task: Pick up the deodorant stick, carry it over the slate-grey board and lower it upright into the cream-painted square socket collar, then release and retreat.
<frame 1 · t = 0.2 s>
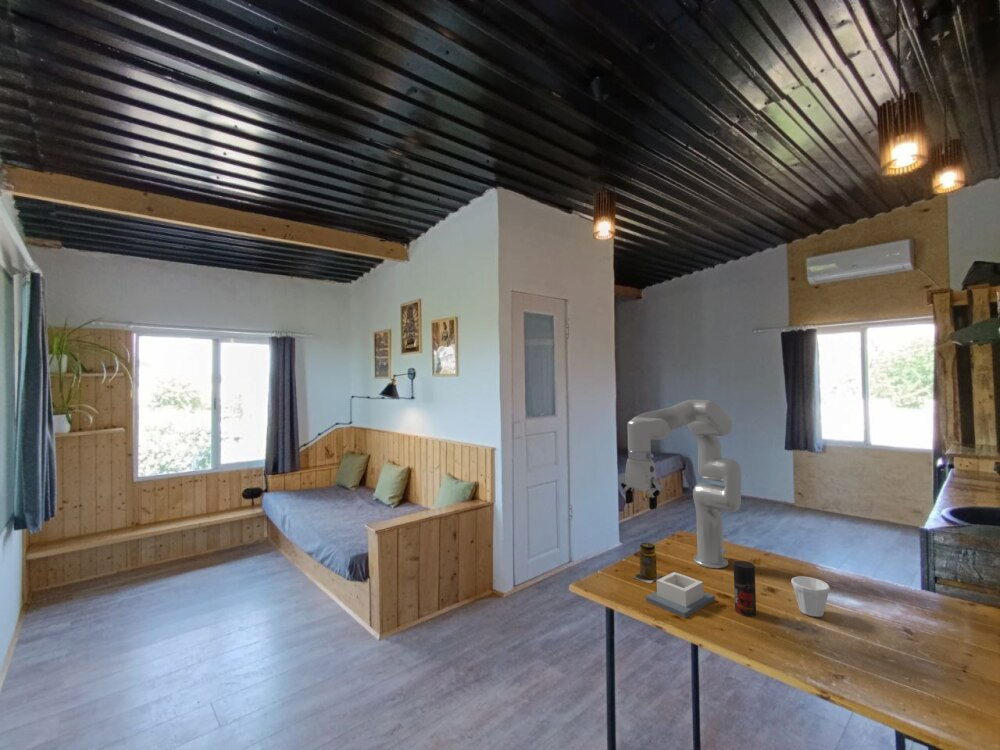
hand: (641, 505, 155), 31 cm above the table, fingers open, 9 cm apart
condiment: (646, 577, 169), on the table
cup: (811, 613, 141), on the table
socket: (680, 600, 151), on the table
deodorant: (745, 612, 143), on the table
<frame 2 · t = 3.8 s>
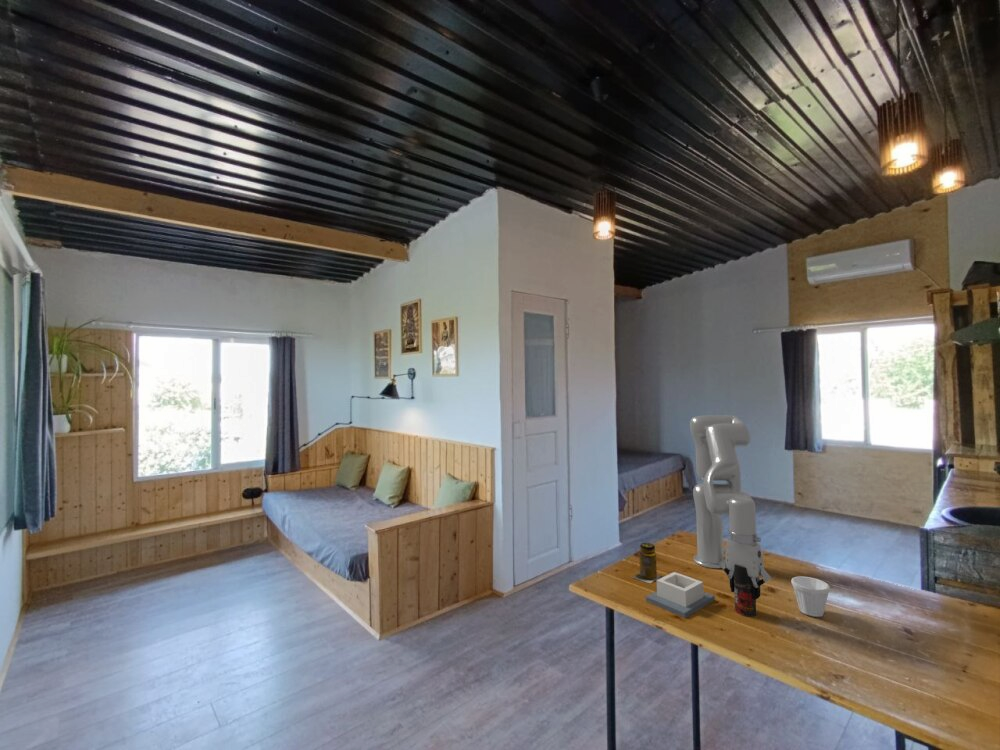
hand: (744, 594, 143), 6 cm above the table, fingers closed on deodorant, 5 cm apart
deodorant: (745, 612, 143), on the table, touching gripper
everything else where it was.
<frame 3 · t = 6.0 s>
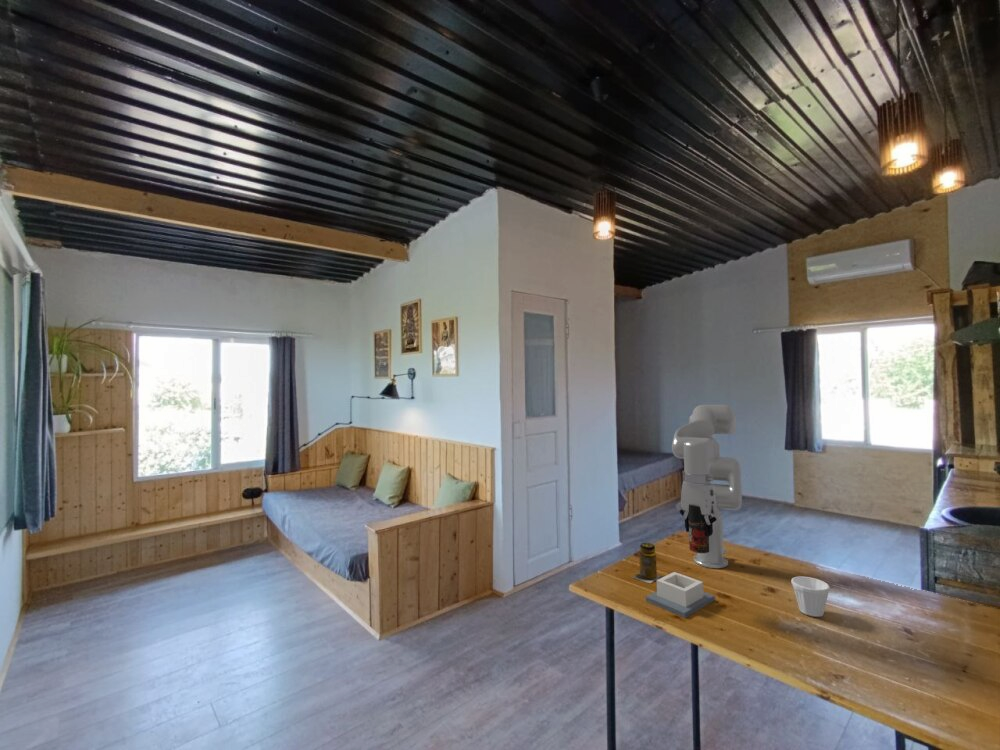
hand: (698, 532, 149), 23 cm above the table, fingers closed on deodorant, 5 cm apart
deodorant: (699, 550, 148), point 18 cm above the table, touching gripper
everything else where it was.
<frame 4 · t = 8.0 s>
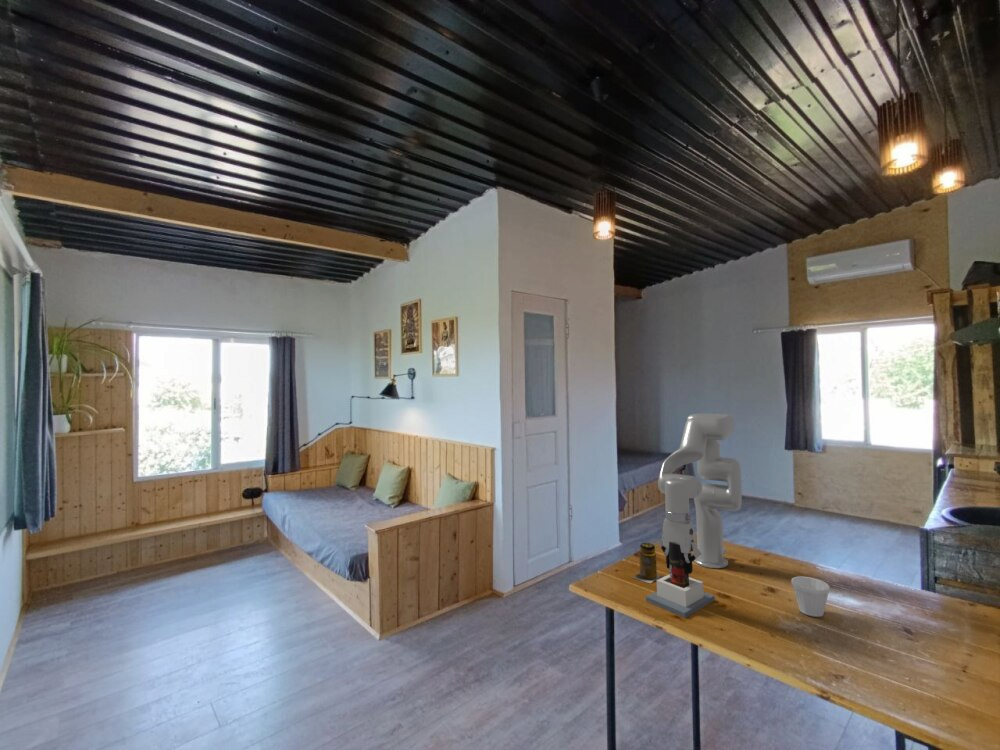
hand: (679, 570, 151), 10 cm above the table, fingers closed on deodorant, 5 cm apart
deodorant: (679, 587, 151), point 4 cm above the table, touching gripper
everything else where it was.
when the fingers open (9 cm above the table, at t = 8.6 s): deodorant drops 2 cm, resting on socket.
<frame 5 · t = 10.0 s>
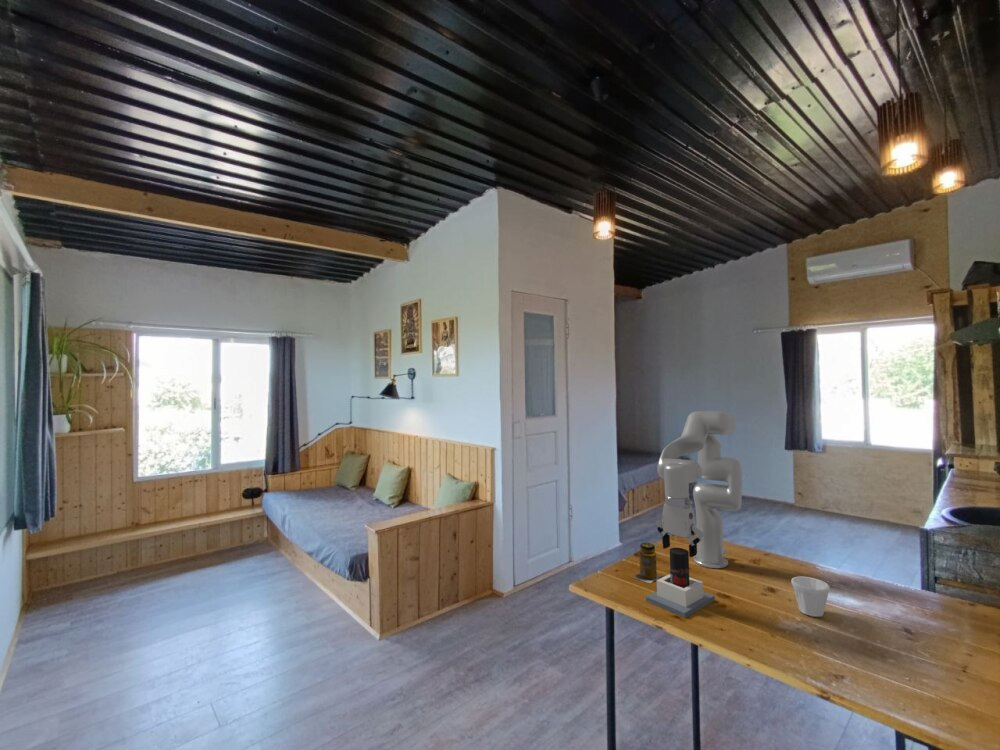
hand: (679, 551, 152), 16 cm above the table, fingers open, 9 cm apart
deodorant: (680, 596, 151), point 1 cm above the table, touching socket
everything else where it was.
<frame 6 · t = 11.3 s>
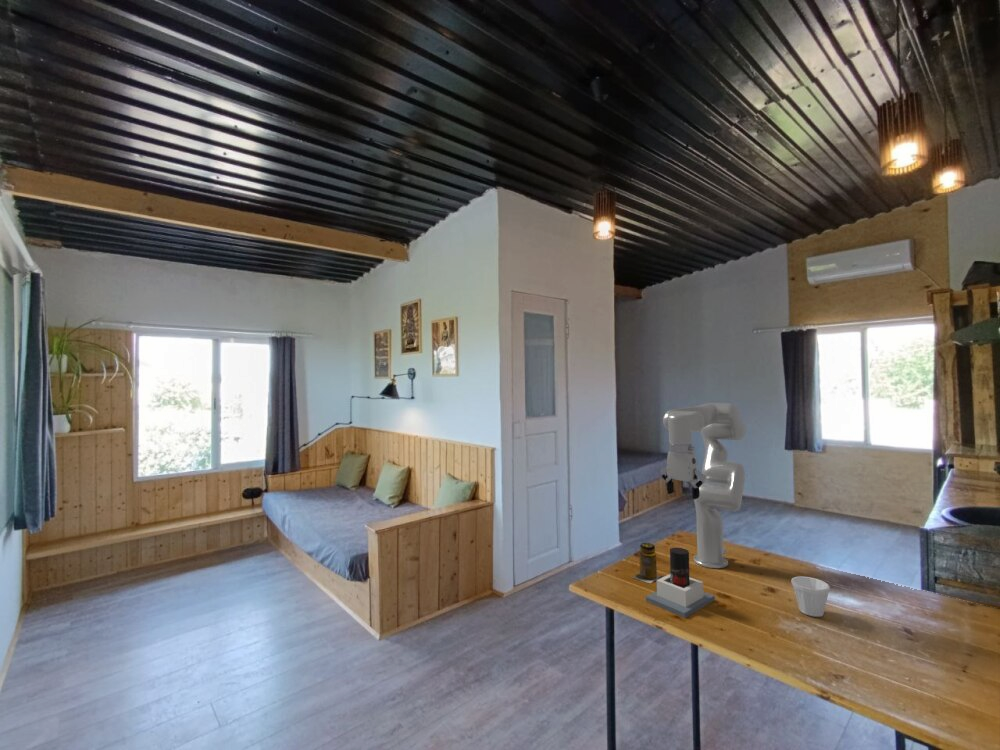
hand: (683, 495, 162), 32 cm above the table, fingers open, 9 cm apart
nothing on the table moved.
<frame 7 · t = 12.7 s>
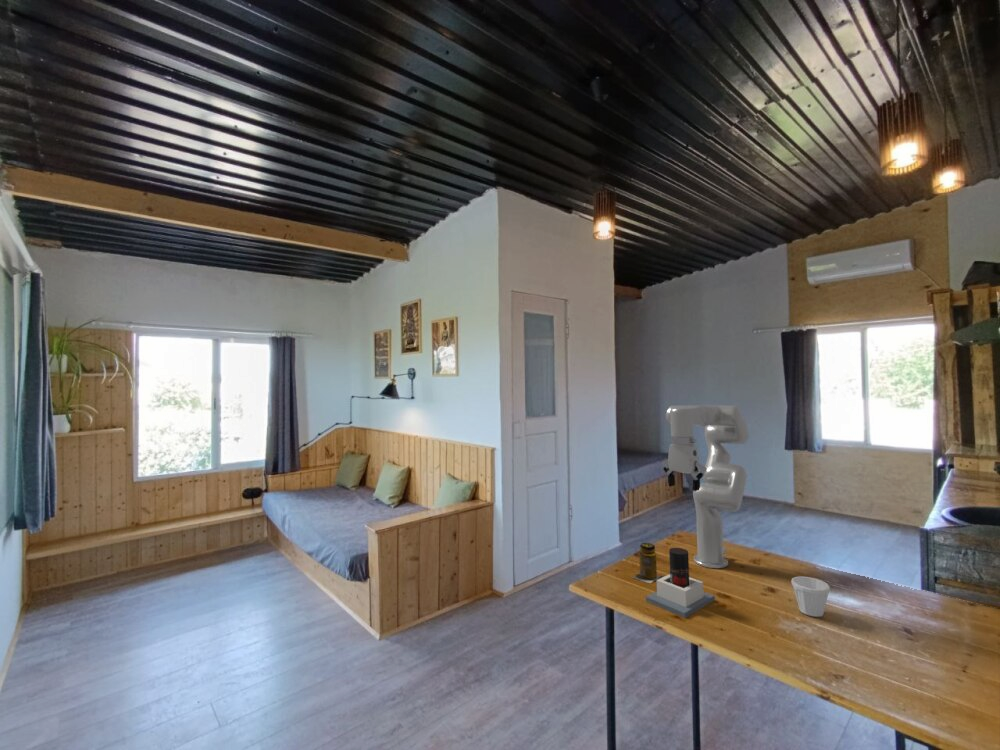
hand: (683, 488, 165), 34 cm above the table, fingers open, 9 cm apart
nothing on the table moved.
at the end: deodorant 0.1 cm from the socket (horizontally); deodorant point 1.3 cm above the table; deodorant tilted 0° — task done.
